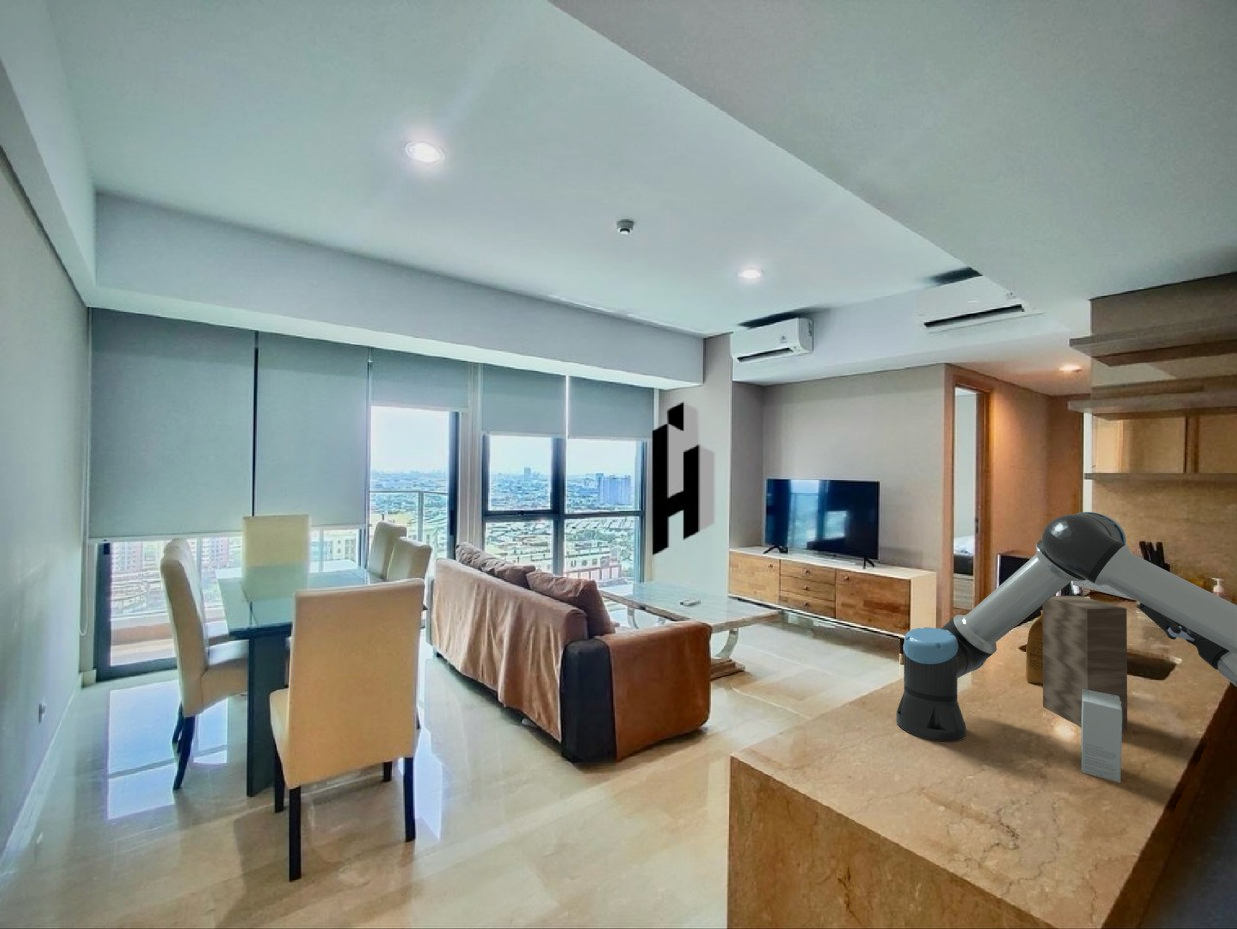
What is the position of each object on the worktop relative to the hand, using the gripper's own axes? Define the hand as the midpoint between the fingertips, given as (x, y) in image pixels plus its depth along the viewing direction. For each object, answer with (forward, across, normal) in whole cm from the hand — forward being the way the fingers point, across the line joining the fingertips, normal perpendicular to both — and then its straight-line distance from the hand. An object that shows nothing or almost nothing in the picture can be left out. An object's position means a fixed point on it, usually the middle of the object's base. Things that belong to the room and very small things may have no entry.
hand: (1136, 580), depth 131 cm
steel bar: (+1, 0, -6) cm, 6 cm away
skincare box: (-28, -18, -28) cm, 44 cm away
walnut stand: (-7, 0, -40) cm, 41 cm away
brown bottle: (+15, +10, -53) cm, 56 cm away
